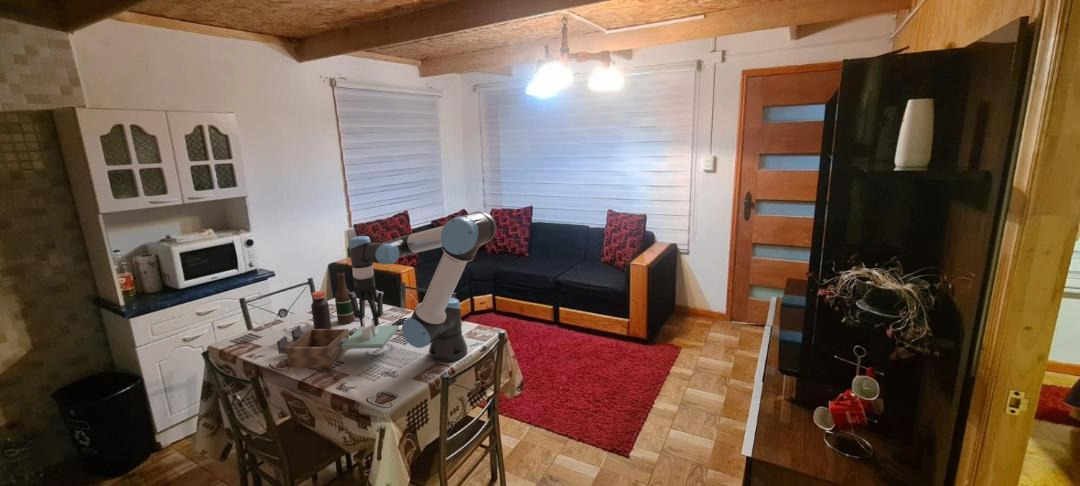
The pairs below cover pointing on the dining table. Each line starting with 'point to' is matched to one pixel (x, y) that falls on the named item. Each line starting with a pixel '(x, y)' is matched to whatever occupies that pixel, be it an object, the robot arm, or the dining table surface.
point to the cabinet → (313, 347)
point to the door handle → (393, 322)
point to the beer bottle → (343, 302)
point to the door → (368, 337)
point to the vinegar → (320, 311)
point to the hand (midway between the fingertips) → (370, 333)
